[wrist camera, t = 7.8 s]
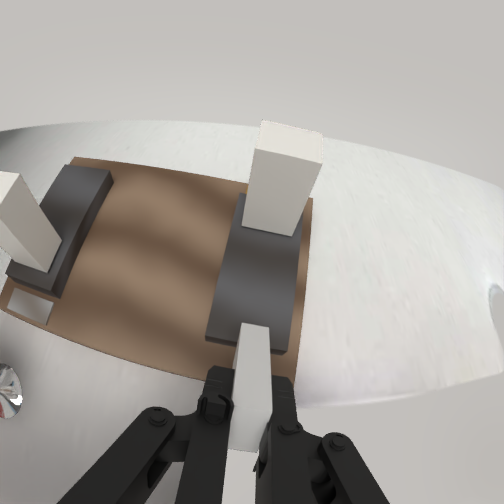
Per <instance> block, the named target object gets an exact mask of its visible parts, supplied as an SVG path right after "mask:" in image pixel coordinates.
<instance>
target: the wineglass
mask: <svg viewBox="0 0 504 504" xmlns="http://www.w3.org/2000/svg"><path fill="white" fill-rule="evenodd" d="M21 401H22V388H21V385H20V381H19V379H18V377H17V375H16V373H15V372H14V371H13V370H12V369H11V368H10V367H9V366H7V365H5V364H0V417H1V418H6V419H8V418H11V417H13V416H14V415H15V414H16V413H17V412H18V410H19V408H20V406H21Z"/></svg>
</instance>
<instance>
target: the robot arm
mask: <svg viewBox="0 0 504 504" xmlns="http://www.w3.org/2000/svg"><path fill="white" fill-rule="evenodd" d="M294 398H295V397H294V389H293V384H292V382H291V381H290V380H289V378H288V377H283V376H276V375H271V363H270V340H269V327H263V326H258V325H252V324H247V323H242V324H241V329H240V333H239V338H238V343H237V347H236V352H235V356H234V361H233V368H232V369H231V368H226V367H221V366H216V365H214V366H213V367H212V368H210V369H209V370H208V373H207V377H206V381H205V385H204V389H203V393H202V395H201V396H200V398H199V399H198V405H197V410H196V411H195V412H194V413H192V414H189V415H185V416H174V415H173V413H172V412H171V411H169V410H167V409H166V408H162V407H149V408H146V409H145V410H144V411H142V412H141V414H140V415H139V416H138V417H137V418H136V419H135V420H134V421H133V422H132V423H131V425H130V426H129V427H128V428H127V429H126V430H125V431H124V432H123V433H122V434H121V436H120V437H119V438H118V439H117V440H116V441H115V442H114V443H113V444H112V445H111V446H110V447H109V449H108V450H107V451H106V452H105V453H104V454H103V455H102V456H101V457H100V458H99V459H98V460H97V462H96V463H95V464H94V465H93V466H92V467H91V468H90V469H89V470H88V471H87V472H86V473H85V474H84V475H83V476H82V478H81V479H80V480H79V481H78V482H77V483H76V484H75V485H74V486H73V487H72V488H71V489H70V490H69V491H68V492H67V493H66V494H65V495H64V496H63V497H62V498H61V500H60V501H59V502H58V503H57V504H144V503H145V502H146V500H147V499H148V498H149V496H150V495H151V493H152V492H153V490H154V489H155V487H156V486H157V484H158V483H159V482H160V480H161V479H162V477H163V476H164V474H165V473H166V471H167V470H168V468H169V467H170V465H171V464H172V462H184V467H183V471H182V475H181V479H180V484H179V488H178V492H177V496H176V501H175V504H221V503H222V494H223V485H224V476H225V467H226V459H227V450H228V449H234V450H240V451H248V452H255V453H257V451H258V449H259V456H258V459H257V461H256V464H255V466H254V469H253V472H255V471H256V494H255V504H390V503H389V502H388V500H387V499H386V497H385V495H384V493H383V492H382V490H381V489H380V487H379V485H378V484H377V482H376V480H375V479H374V477H373V476H372V474H371V472H370V471H369V469H368V467H367V466H366V464H365V462H364V461H363V459H362V457H361V456H360V454H359V452H358V451H357V449H356V447H355V446H354V444H353V442H352V441H351V440H350V439H349V438H348V437H347V436H345V435H344V434H341V433H337V432H336V433H335V432H332V433H328V434H326V435H325V436H324V437H323V438H322V437H319V436H315V435H312V434H310V433H308V432H306V431H305V430H303V427H302V425H301V424H300V423H299V422H298V420H297V412H296V404H295V399H294Z"/></svg>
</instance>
